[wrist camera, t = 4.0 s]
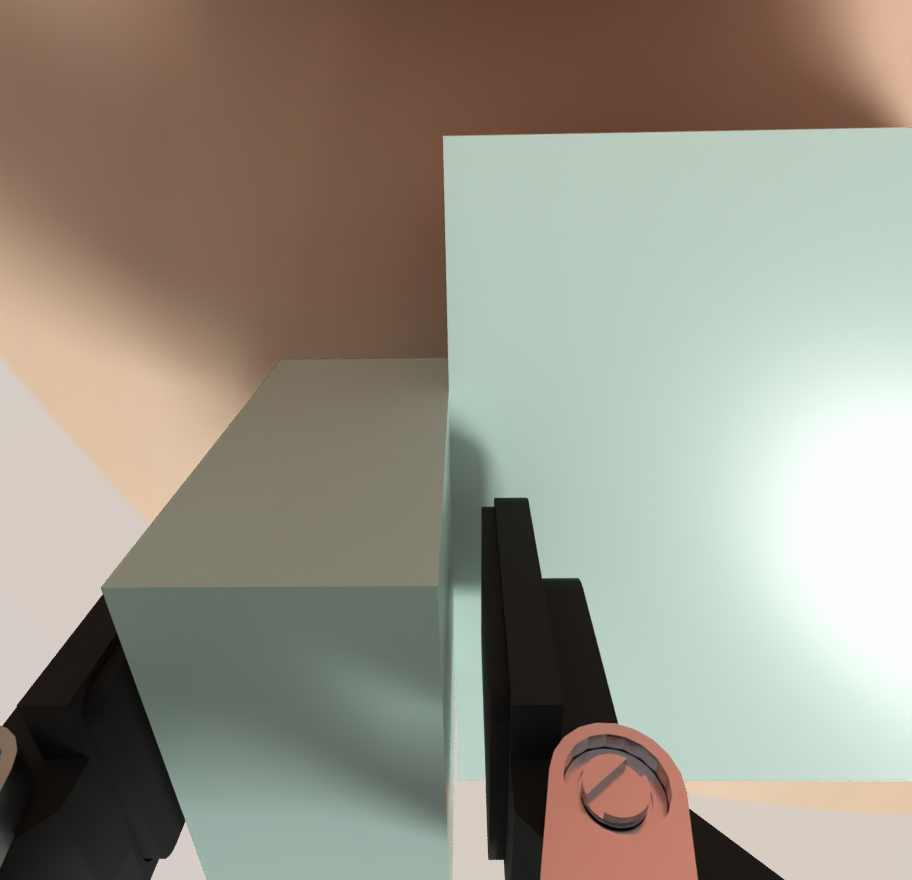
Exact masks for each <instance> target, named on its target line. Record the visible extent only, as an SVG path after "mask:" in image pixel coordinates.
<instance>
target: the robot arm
mask: <svg viewBox="0 0 912 880" xmlns="http://www.w3.org/2000/svg"><path fill="white" fill-rule="evenodd" d="M481 655H482V686H483V716H484V746H485V776H486V804H487V836H488V859H489V860H504V870H505V880H784V879H783V878H781V877H780V876H779V875H777V874H776V873H775V872H773V871H772V870H771V869H769V868H768V867H766V866H765V865H764V864H763V863H761V862H760V861H759V860H757V859H756V858H754V857H753V856H752V855H750V854H749V853H748V852H747V851H745V850H744V849H743V848H741V847H740V846H739V845H737V844H736V843H735V842H733V841H732V840H730V839H729V838H728V837H727V836H725V835H724V834H723V833H721V832H720V831H718V830H717V829H716V828H714V827H713V826H712V825H710V824H709V823H708V822H706V821H705V820H704V819H702V818H701V817H700V816H698V815H697V814H696V813H694V812H693V811H692V810H690V809H689V806H688V799H687V792H686V788H685V785H684V782H683V778H682V775H681V772H680V771H679V769H678V768H677V766H676V765H675V763H674V761H673V760H672V758H671V757H670V755H669V754H668V753H667V752H666V751H665V750H664V749H663V748H661V747H660V746H659V745H658V744H657V743H656V742H655V741H654V740H653V739H651V738H649V737H648V736H646V735H644V734H642V733H641V732H639V731H637V730H635V729H632V728H629V727H626V726H622V725H619V724H618V721H617V717H616V713H615V709H614V705H613V701H612V697H611V694H610V690H609V686H608V682H607V678H606V674H605V670H604V667H603V663H602V659H601V655H600V651H599V647H598V643H597V640H596V636H595V632H594V628H593V624H592V620H591V616H590V613H589V609H588V605H587V601H586V597H585V593H584V589H583V586H582V583H581V581H580V579H579V578H542V575H541V569H540V564H539V558H538V552H537V546H536V541H535V535H534V529H533V523H532V518H531V512H530V506H529V501H528V498H494V507H482V508H481ZM184 823H185V818H184V815H183V813H182V810H181V807H180V804H179V802H178V799H177V796H176V793H175V791H174V788H173V785H172V782H171V780H170V777H169V774H168V771H167V769H166V766H165V763H164V760H163V758H162V755H161V752H160V749H159V747H158V744H157V741H156V738H155V736H154V733H153V730H152V727H151V725H150V722H149V719H148V716H147V714H146V711H145V708H144V705H143V703H142V700H141V697H140V694H139V692H138V689H137V686H136V683H135V681H134V678H133V675H132V672H131V670H130V667H129V664H128V661H127V659H126V656H125V653H124V650H123V648H122V645H121V642H120V639H119V637H118V634H117V631H116V628H115V626H114V623H113V620H112V617H111V615H110V612H109V609H108V606H107V604H106V601H105V598H104V595H102V596H101V598H100V599H99V600H98V601H97V603H96V604H95V605H94V607H93V608H92V609H91V610H90V612H89V613H88V614H87V616H86V617H85V618H84V619H83V621H82V622H81V623H80V625H79V626H78V627H77V629H76V630H75V631H74V633H73V634H72V635H71V636H70V637H69V639H68V640H67V641H66V643H65V644H64V645H63V647H62V648H61V649H60V650H59V652H58V653H57V654H56V656H55V657H54V658H53V659H52V661H51V662H50V663H49V665H48V666H47V667H46V668H45V670H44V671H43V672H42V674H41V675H40V676H39V678H38V679H37V680H36V681H35V683H34V684H33V686H31V688H30V689H29V690H28V692H27V693H26V695H25V696H24V697H23V698H22V699H21V701H20V702H19V703H18V705H17V708H16V709H15V710H14V711H13V713H12V714H11V715H10V717H9V718H8V719H7V721H6V722H5V723H4V725H3V726H0V880H150V879H151V877H152V874H153V872H154V870H155V867H156V865H157V863H158V860H159V859H165V858H167V857H168V856H169V855H170V854H171V853H172V851H173V849H174V847H175V845H176V843H177V840H178V838H179V835H180V833H181V831H182V828H183V826H184Z"/></svg>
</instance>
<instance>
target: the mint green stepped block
mask: <svg viewBox="0 0 912 880" xmlns="http://www.w3.org/2000/svg"><path fill="white" fill-rule="evenodd" d="M443 160H444V202H445V245H446V287H447V330H448V358H374V359H289V360H281V361H280V362H279V363H278V364H277V366H276V367H275V368H274V369H273V371H272V372H271V373H270V375H269V376H268V377H267V378H266V380H265V381H264V382H263V383H262V385H261V386H260V387H259V388H258V390H257V391H256V392H255V393H254V395H253V396H252V397H251V399H250V400H249V401H248V402H247V404H246V405H245V406H244V407H243V409H242V410H241V411H240V412H239V414H238V415H237V416H236V417H235V419H234V420H233V421H232V423H231V424H230V425H229V426H228V428H227V429H226V430H225V431H224V433H223V434H222V435H221V436H220V438H219V439H218V440H217V441H216V443H215V444H214V445H213V447H212V448H211V449H210V450H209V452H208V453H207V454H206V455H205V457H204V458H203V459H202V460H201V462H200V463H199V464H198V465H197V467H196V468H195V469H194V471H193V472H192V473H191V474H190V476H189V477H188V478H187V479H186V481H185V482H184V483H183V484H182V486H181V487H180V488H179V489H178V491H177V492H176V493H175V495H174V496H173V497H172V498H171V500H170V501H169V502H168V503H167V505H166V506H165V507H164V508H163V510H162V511H161V512H160V513H159V515H158V516H157V517H156V519H155V520H154V521H153V522H152V524H151V525H150V526H149V527H148V529H147V530H146V531H145V532H144V534H143V535H142V536H141V537H140V539H139V540H138V541H137V542H136V544H135V545H134V546H133V548H132V549H131V550H130V551H129V553H128V554H127V555H126V557H125V558H124V559H123V560H122V562H121V563H120V564H119V565H118V566H117V568H116V569H115V570H114V572H113V573H112V574H111V575H110V577H109V578H108V579H107V580H106V582H105V583H104V584H103V585H102V587H101V590H102V593H103V595H104V598H105V601H106V604H107V606H108V609H109V612H110V615H111V617H112V620H113V623H114V626H115V628H116V631H117V634H118V637H119V639H120V642H121V645H122V648H123V650H124V653H125V656H126V659H127V661H128V664H129V667H130V670H131V672H132V675H133V678H134V681H135V683H136V686H137V689H138V692H139V694H140V697H141V700H142V703H143V705H144V708H145V711H146V714H147V716H148V719H149V722H150V725H151V727H152V730H153V733H154V736H155V738H156V741H157V744H158V747H159V749H160V752H161V755H162V758H163V760H164V763H165V766H166V769H167V771H168V774H169V777H170V780H171V782H172V785H173V788H174V791H175V793H176V796H177V799H178V802H179V804H180V807H181V810H182V813H183V815H184V818H185V821H186V823H187V826H188V829H189V832H190V834H191V837H192V840H193V842H194V845H195V848H196V851H197V854H198V856H199V859H200V862H201V865H202V867H203V870H204V873H205V876H206V878H207V880H452V858H453V857H452V855H453V795H454V793H453V792H454V732H455V731H454V730H455V670H456V713H457V752H458V753H457V754H458V781H486V776H485V746H484V716H483V686H482V655H481V508H482V507H494V498H528V501H529V506H530V512H531V518H532V523H533V529H534V535H535V541H536V546H537V552H538V558H539V564H540V569H541V575H542V578H579V579H580V581H581V583H582V586H583V589H584V593H585V597H586V601H587V605H588V609H589V613H590V616H591V620H592V624H593V628H594V632H595V636H596V640H597V643H598V647H599V651H600V655H601V659H602V663H603V667H604V670H605V674H606V678H607V682H608V686H609V690H610V694H611V697H612V701H613V705H614V709H615V713H616V717H617V721H618V724H619V725H622V726H626V727H629V728H632V729H635V730H637V731H639V732H641V733H642V734H644V735H646V736H648V737H649V738H651V739H653V740H654V741H655V742H656V743H657V744H658V745H659V746H660V747H661V748H663V749H664V750H665V751H666V752H667V753H668V754H669V755H670V757H671V758H672V760H673V761H674V763H675V765H676V766H677V768H678V769H679V771H680V772H681V775H682V778H683V781H912V127H882V128H828V129H773V130H718V131H664V132H609V133H555V134H500V135H445V136H443Z"/></svg>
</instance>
